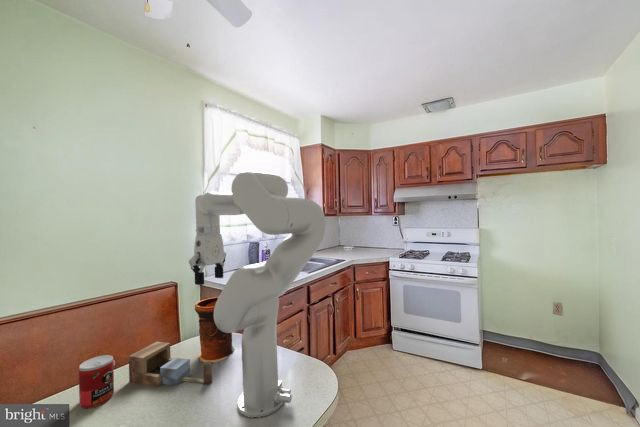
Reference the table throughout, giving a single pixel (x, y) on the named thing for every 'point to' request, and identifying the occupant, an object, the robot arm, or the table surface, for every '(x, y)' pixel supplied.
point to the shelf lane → (149, 363)
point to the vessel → (212, 333)
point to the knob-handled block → (183, 372)
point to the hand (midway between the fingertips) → (209, 281)
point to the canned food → (96, 381)
